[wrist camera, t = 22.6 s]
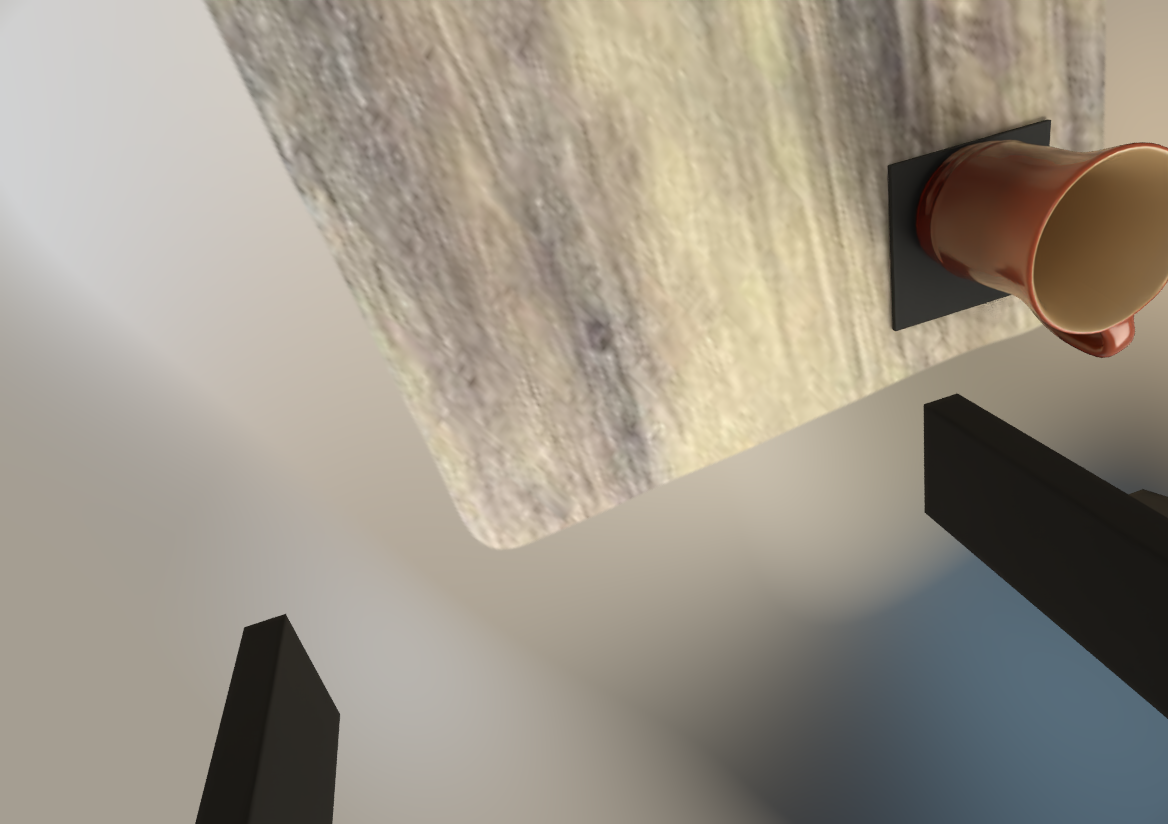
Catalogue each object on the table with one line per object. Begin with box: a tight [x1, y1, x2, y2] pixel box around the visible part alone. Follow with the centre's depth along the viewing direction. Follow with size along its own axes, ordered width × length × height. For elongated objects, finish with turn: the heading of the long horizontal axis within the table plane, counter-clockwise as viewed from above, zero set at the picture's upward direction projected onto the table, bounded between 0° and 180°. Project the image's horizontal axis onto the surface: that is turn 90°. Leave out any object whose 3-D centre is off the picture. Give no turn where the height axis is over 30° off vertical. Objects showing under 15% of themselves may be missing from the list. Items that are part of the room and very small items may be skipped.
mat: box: [888, 120, 1051, 331], centre depth 44 cm, size 10×10×1 cm
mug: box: [916, 140, 1168, 358], centre depth 40 cm, size 12×9×10 cm
